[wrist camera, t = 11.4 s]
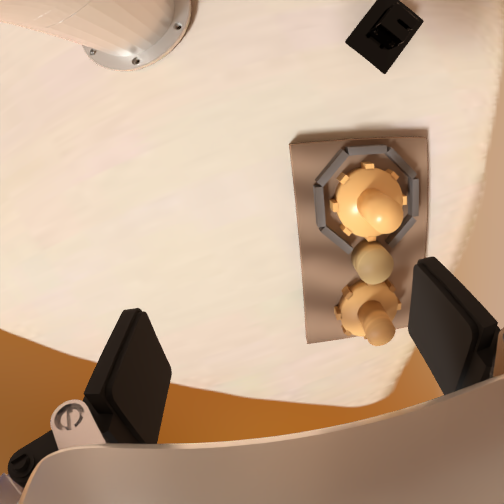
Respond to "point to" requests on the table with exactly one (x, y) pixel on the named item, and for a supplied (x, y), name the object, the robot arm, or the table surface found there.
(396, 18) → the black slotted bracket
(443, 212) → the table surface
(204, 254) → the table surface
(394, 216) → the gear
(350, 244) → the carrier
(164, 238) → the table surface
